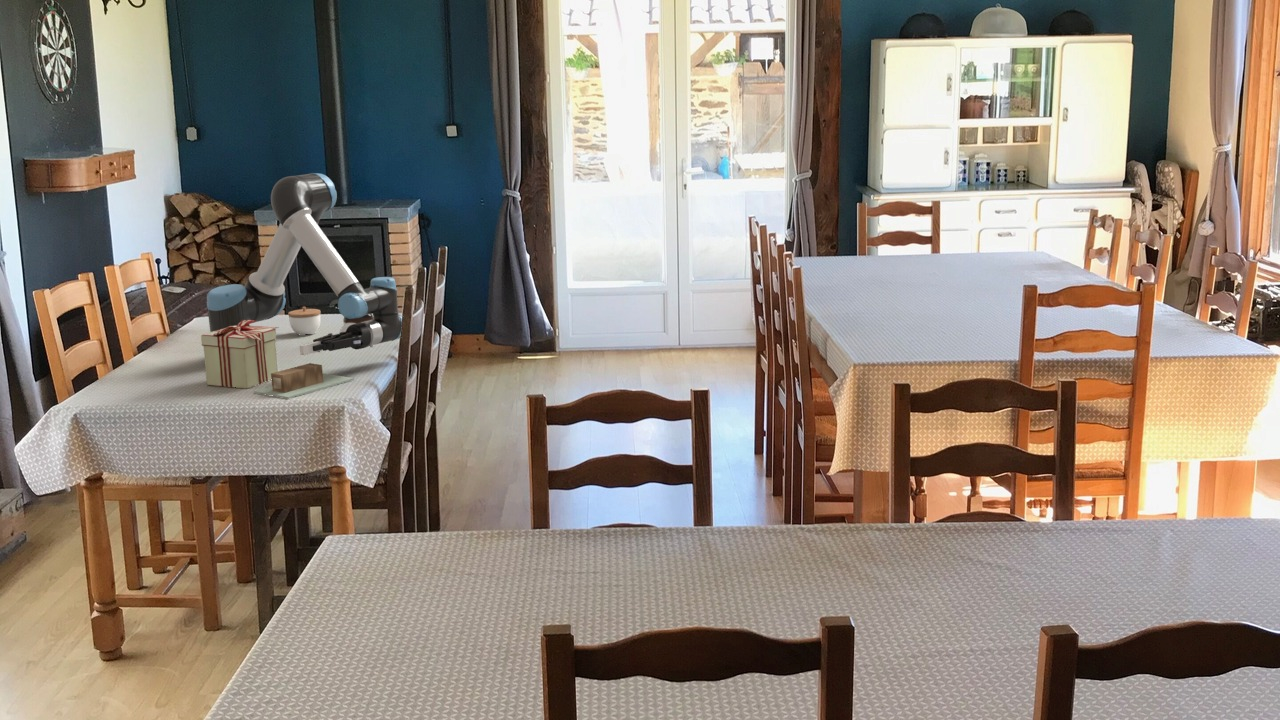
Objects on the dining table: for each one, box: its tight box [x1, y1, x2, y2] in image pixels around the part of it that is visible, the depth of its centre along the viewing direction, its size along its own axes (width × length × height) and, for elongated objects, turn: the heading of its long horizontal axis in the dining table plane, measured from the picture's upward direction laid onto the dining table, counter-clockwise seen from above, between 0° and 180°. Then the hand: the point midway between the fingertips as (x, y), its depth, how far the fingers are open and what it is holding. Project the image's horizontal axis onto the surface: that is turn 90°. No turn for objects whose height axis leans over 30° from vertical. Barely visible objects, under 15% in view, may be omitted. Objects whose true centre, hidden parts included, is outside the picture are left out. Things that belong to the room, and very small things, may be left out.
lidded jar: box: [287, 306, 322, 336], centre depth 421 cm, size 11×11×9 cm
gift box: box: [200, 320, 280, 389], centre depth 353 cm, size 17×18×17 cm
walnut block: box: [271, 362, 324, 393], centre depth 344 cm, size 5×5×14 cm
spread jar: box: [338, 313, 374, 334], centre depth 405 cm, size 12×11×12 cm
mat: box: [254, 373, 355, 399], centre depth 346 cm, size 24×14×1 cm, turn 146°
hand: (301, 350), depth 344 cm, fingers closed
